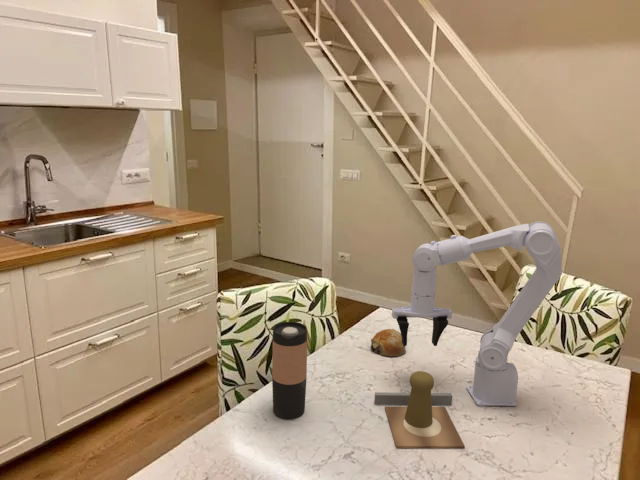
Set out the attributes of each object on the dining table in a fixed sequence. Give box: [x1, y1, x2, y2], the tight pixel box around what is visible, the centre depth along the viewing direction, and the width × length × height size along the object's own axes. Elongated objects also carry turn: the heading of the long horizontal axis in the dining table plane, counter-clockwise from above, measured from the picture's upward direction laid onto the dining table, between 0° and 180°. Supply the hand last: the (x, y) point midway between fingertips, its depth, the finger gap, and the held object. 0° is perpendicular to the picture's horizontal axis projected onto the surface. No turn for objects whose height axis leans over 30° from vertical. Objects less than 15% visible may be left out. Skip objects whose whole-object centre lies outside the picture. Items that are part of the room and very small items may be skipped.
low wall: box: [374, 391, 453, 406], centre depth 111 cm, size 18×1×2 cm, turn 92°
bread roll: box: [370, 328, 407, 358], centre depth 138 cm, size 10×10×8 cm
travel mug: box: [271, 321, 308, 420], centre depth 105 cm, size 8×8×20 cm
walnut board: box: [384, 405, 466, 449], centre depth 102 cm, size 14×14×1 cm
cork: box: [405, 370, 435, 428], centre depth 103 cm, size 6×6×11 cm
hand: (419, 344), depth 118 cm, fingers open, 7 cm apart
